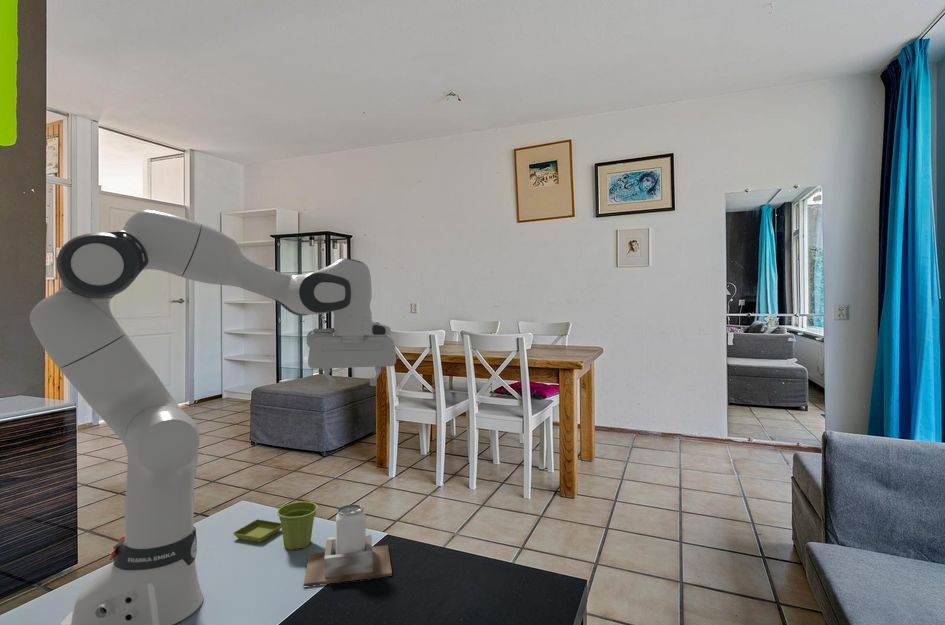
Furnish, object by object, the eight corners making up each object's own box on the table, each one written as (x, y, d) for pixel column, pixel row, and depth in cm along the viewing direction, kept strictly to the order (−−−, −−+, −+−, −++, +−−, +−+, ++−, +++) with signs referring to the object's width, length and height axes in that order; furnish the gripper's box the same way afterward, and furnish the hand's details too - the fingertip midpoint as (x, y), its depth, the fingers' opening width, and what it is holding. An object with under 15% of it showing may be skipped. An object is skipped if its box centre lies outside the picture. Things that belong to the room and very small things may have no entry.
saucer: (284, 531, 127) (284, 523, 127) (260, 546, 119) (260, 537, 119) (257, 526, 130) (257, 519, 130) (232, 541, 122) (232, 533, 122)
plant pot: (324, 537, 123) (324, 502, 123) (305, 555, 114) (305, 518, 114) (290, 534, 125) (290, 500, 125) (269, 552, 115) (268, 515, 115)
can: (358, 572, 105) (358, 516, 105) (330, 569, 106) (330, 514, 106) (370, 557, 112) (370, 504, 112) (343, 554, 113) (343, 502, 113)
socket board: (303, 591, 101) (303, 564, 101) (309, 560, 113) (309, 536, 113) (391, 580, 105) (391, 554, 105) (387, 551, 117) (387, 528, 117)
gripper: (305, 329, 110) (305, 390, 110) (396, 328, 115) (397, 386, 115) (307, 328, 116) (307, 386, 116) (394, 327, 121) (394, 382, 121)
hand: (352, 386), depth 116 cm, fingers open, 8 cm apart
